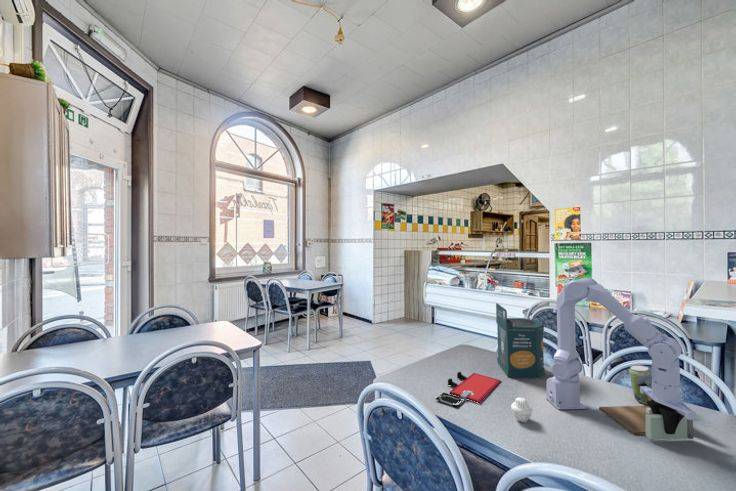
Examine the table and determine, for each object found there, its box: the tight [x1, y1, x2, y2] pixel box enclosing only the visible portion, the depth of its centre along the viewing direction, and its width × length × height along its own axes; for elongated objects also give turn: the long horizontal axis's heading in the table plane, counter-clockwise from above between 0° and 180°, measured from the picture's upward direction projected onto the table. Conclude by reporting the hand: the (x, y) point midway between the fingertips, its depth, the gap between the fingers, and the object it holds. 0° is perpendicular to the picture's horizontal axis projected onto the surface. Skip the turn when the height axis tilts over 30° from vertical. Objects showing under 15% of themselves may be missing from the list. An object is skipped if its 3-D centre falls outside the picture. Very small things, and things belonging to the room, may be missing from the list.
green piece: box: [645, 414, 694, 440], centre depth 88 cm, size 12×2×6 cm, turn 89°
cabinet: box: [598, 396, 653, 436], centre depth 98 cm, size 16×14×7 cm
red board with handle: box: [435, 371, 502, 406], centre depth 121 cm, size 30×3×15 cm
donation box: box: [495, 303, 546, 379], centre depth 138 cm, size 16×16×28 cm
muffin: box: [510, 397, 533, 423], centre depth 100 cm, size 6×6×7 cm
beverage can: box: [628, 364, 652, 405], centre depth 109 cm, size 6×7×12 cm
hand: (666, 431), depth 88 cm, fingers closed on green piece, 2 cm apart
